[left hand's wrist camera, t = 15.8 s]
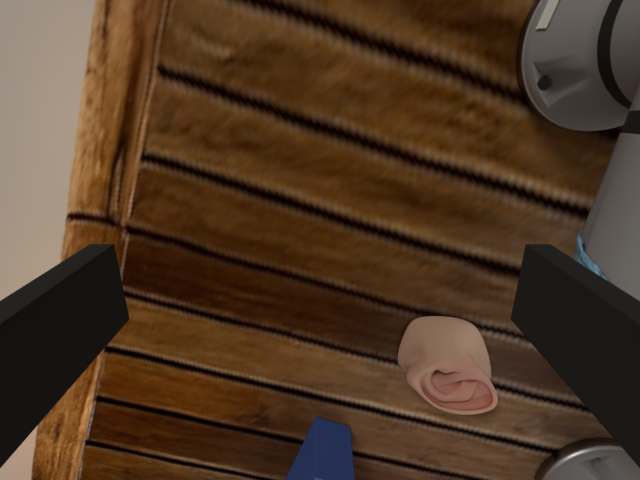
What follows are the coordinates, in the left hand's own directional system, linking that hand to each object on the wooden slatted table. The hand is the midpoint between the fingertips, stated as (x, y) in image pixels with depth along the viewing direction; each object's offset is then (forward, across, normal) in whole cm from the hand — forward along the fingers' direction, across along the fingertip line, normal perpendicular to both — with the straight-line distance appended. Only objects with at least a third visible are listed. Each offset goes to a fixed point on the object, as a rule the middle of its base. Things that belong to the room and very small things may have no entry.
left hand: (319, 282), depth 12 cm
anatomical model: (+29, +16, -25) cm, 41 cm away
